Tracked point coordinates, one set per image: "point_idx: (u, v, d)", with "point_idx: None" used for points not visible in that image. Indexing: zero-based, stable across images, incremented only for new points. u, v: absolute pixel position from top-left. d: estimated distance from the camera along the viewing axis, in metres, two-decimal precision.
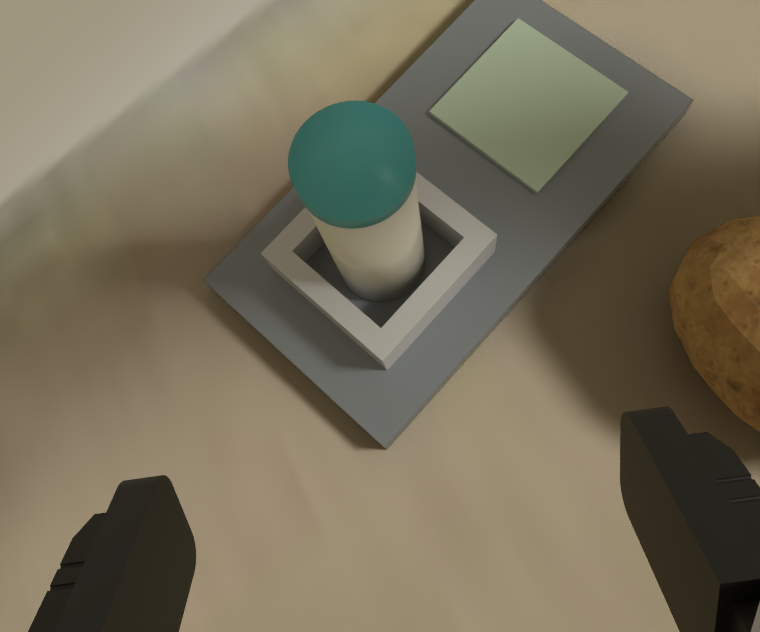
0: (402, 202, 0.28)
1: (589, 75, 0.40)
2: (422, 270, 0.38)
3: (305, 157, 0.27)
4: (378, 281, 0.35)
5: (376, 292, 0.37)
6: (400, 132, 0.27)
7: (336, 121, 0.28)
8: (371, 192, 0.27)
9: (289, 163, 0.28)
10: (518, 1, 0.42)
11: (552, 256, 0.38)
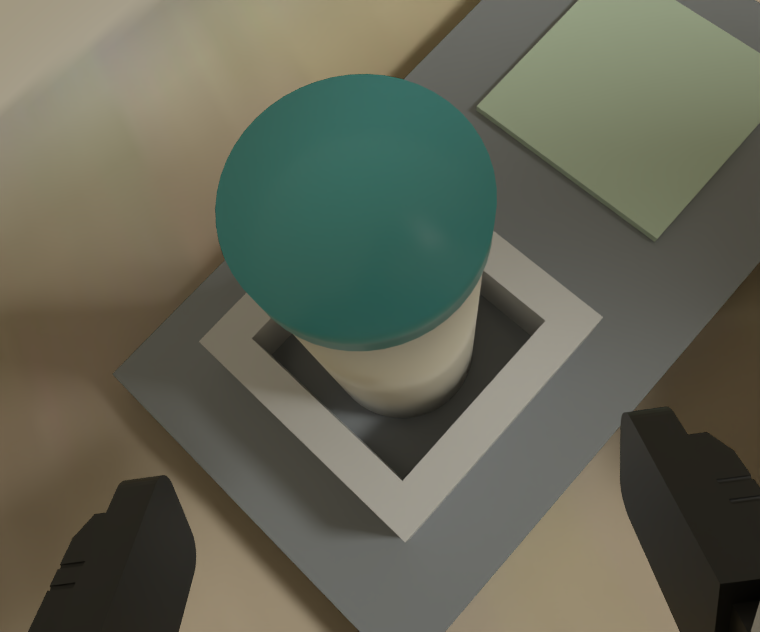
0: (465, 296, 0.13)
1: (733, 51, 0.25)
2: None
3: (253, 196, 0.12)
4: (399, 402, 0.20)
5: (393, 411, 0.22)
6: (463, 143, 0.12)
7: (322, 119, 0.13)
8: (400, 279, 0.12)
9: (218, 209, 0.13)
10: None
11: (684, 347, 0.23)
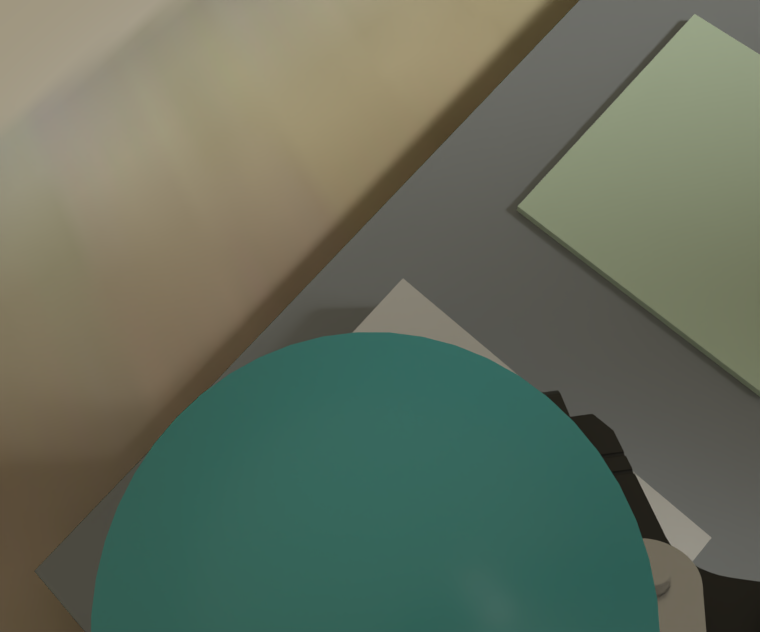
0: None
1: None
2: None
3: (166, 592, 0.06)
4: None
5: None
6: (584, 494, 0.06)
7: (303, 425, 0.07)
8: None
9: (97, 617, 0.06)
10: None
11: None
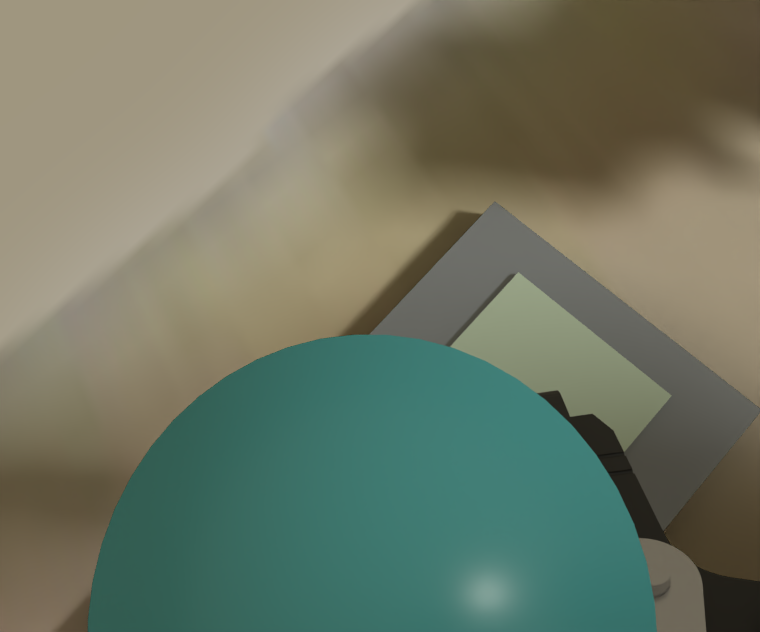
0: None
1: (616, 366, 0.29)
2: None
3: (164, 595, 0.06)
4: None
5: None
6: (581, 497, 0.06)
7: (300, 428, 0.07)
8: None
9: (94, 620, 0.06)
10: (518, 244, 0.31)
11: None
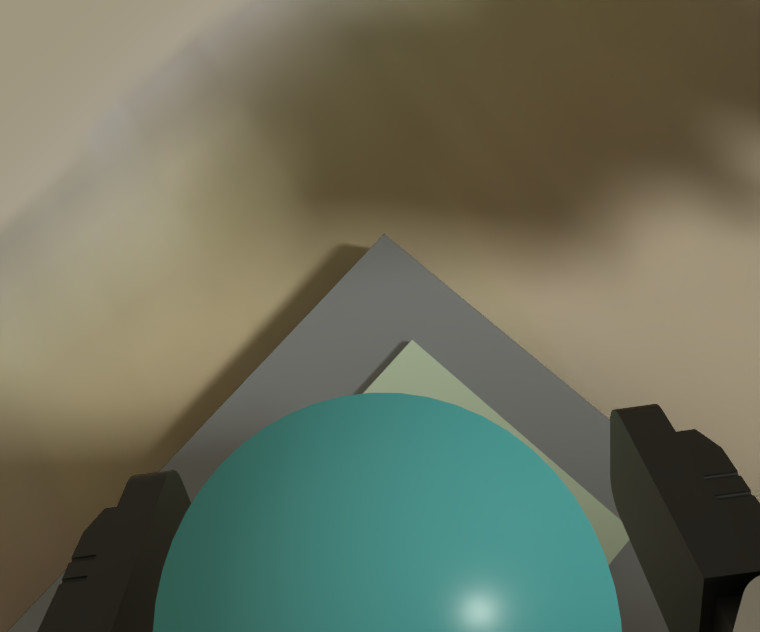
0: None
1: None
2: None
3: (215, 613, 0.08)
4: None
5: None
6: (562, 532, 0.07)
7: (327, 473, 0.08)
8: None
9: None
10: (416, 297, 0.21)
11: None
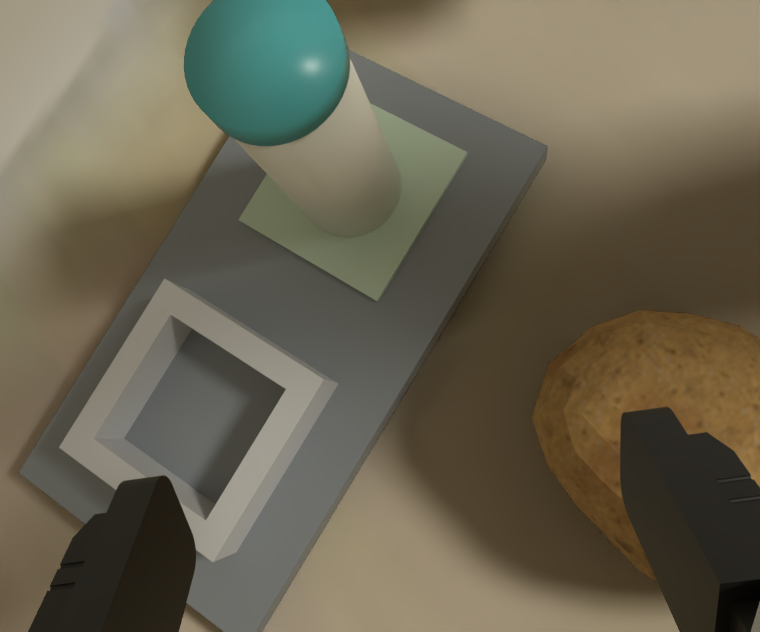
0: (338, 97, 0.21)
1: (418, 139, 0.33)
2: (399, 189, 0.32)
3: (205, 65, 0.21)
4: (345, 211, 0.29)
5: (348, 225, 0.31)
6: (317, 6, 0.21)
7: (234, 11, 0.22)
8: (294, 90, 0.21)
9: (187, 77, 0.21)
10: None
11: (406, 378, 0.31)
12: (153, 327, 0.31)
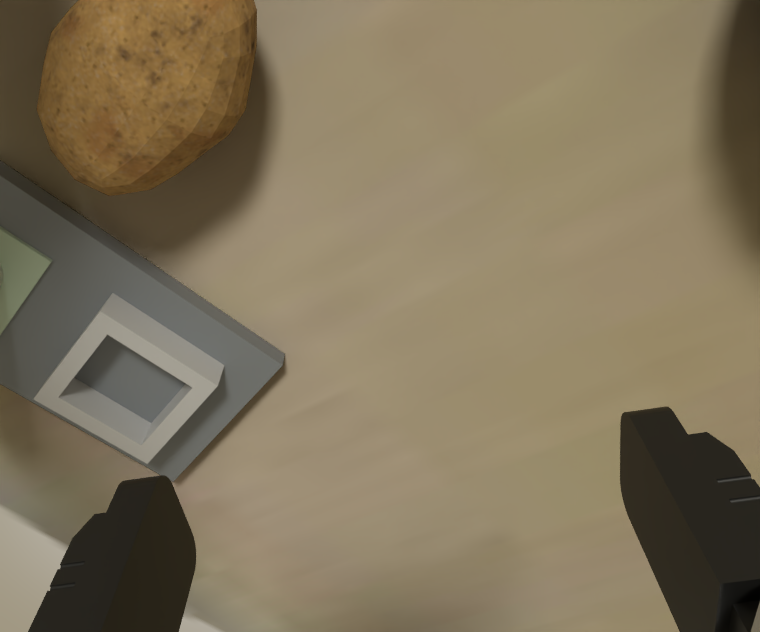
0: None
1: None
2: None
3: None
4: None
5: None
6: None
7: None
8: None
9: None
10: None
11: (108, 249, 0.44)
12: (67, 407, 0.47)
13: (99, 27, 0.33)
